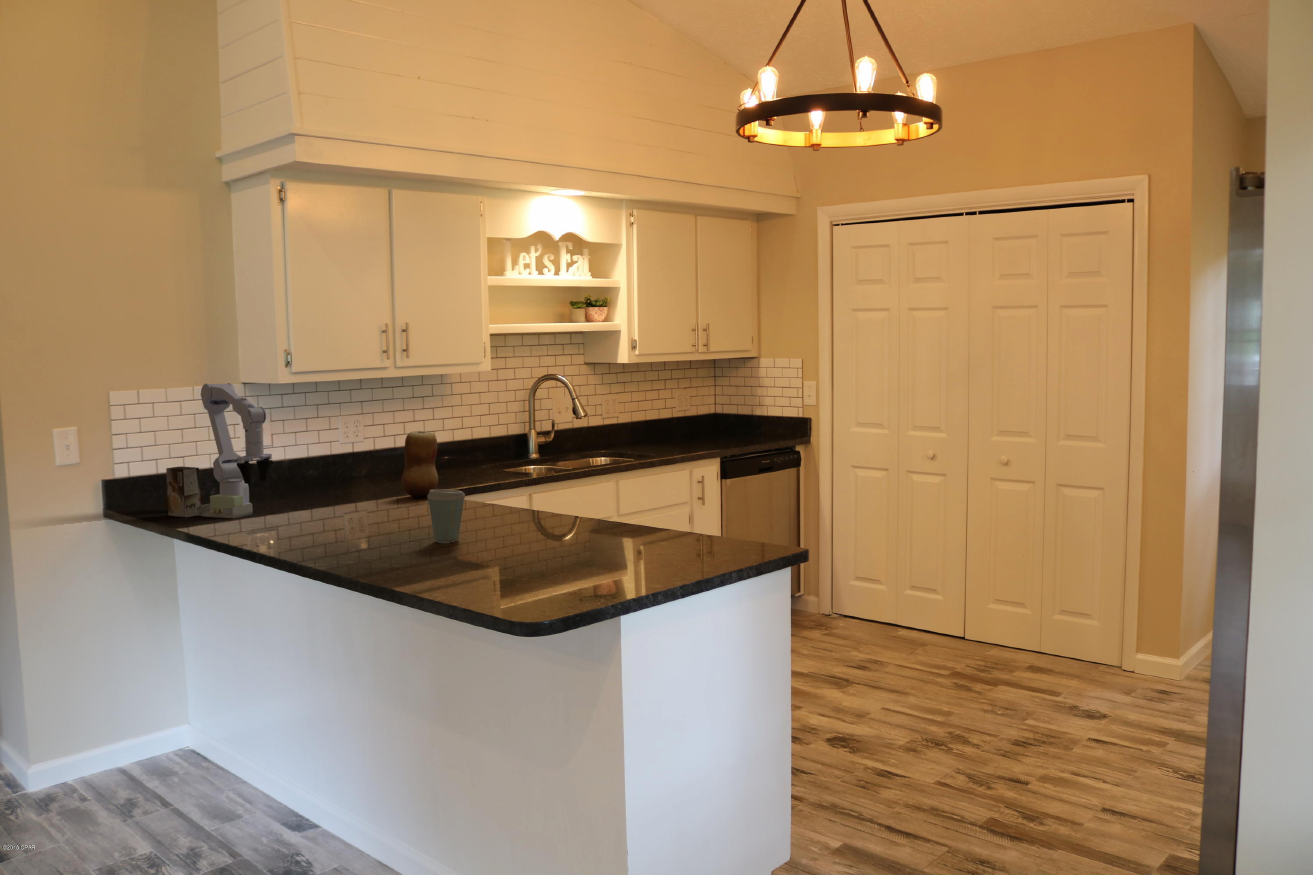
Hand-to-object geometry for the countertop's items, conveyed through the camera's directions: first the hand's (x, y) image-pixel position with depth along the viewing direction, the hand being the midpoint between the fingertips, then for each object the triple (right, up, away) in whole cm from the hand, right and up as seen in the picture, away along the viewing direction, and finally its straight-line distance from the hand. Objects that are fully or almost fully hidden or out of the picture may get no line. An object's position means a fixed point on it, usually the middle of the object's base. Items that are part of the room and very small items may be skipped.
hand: (255, 482), depth 345 cm
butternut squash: (+48, -7, +34) cm, 59 cm away
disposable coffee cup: (+77, -15, -57) cm, 97 cm away
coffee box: (-20, -11, -9) cm, 25 cm away
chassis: (-6, -11, -9) cm, 15 cm away
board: (-6, -8, -9) cm, 14 cm away
